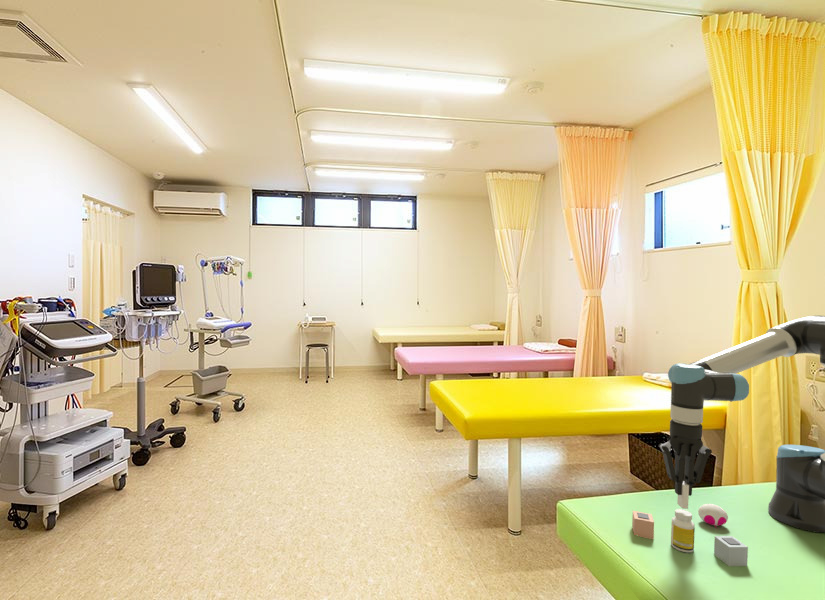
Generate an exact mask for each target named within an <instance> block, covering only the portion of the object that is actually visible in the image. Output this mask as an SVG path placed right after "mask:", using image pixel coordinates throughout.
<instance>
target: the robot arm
mask: <svg viewBox="0 0 825 600" xmlns="http://www.w3.org/2000/svg"><path fill="white" fill-rule="evenodd" d="M799 354H815V355H819V363H820V364H821V365H822V366H823V367H824V368H825V315H807V316H804V317H800V318H795V319H792V320H789V321H786V322H783V323H780V324H778V325H775V326H773V327H771V328H768V329H767V330H766V332H765V334H762V335H760V336H757V337H755V338H752V339H750V340H747V341H744V342H742V343H739V344H737V345H734V346H732V347H729V348H726V349H724V350H722V351H719V352H716V353H714V354H712V355H709V356H706V357H704V358H701V359H699V360H696V361H694V362H691V363H688V364H687V363H680V362H679V363H674V364H673V365H671V367H670V368H669V369H668V373H667V377H668V380H669V382H670V383H671V385H670V386H671V389H670V390H671V391H670V392H671V393H670V418H671V419H670V420H669V436H668V438H667V442H664V443H659V444H658V447H659V449H660V450H661V452H662V455H663V457H662V458H663V461H664V464H665V465H664V466H665V470H666V474H667V477H668V478H669V479H670V480H671V481H673V482H674V492H675V493H676V495H677V500H676V501H677V502H676V503H677V505H678V506H679V507H680V509H683V510H688V509H689V497H692V494H693V487H694V486H695V485H696V483H697V484H700V483H701V481H702V478H703V474H704V471H705V468H706V465H707V462H708V459H709V457H710V455H711V454H712V453H713V451H712V449H710V448H709V447H708V446H705V445H704V442H703V439H702V437H703V425H702V423H704V421H703V418H704V403H705V401H715V402H717V401H719V402H720V401H721V402H722V401H723V402H740V401H743V400H745V399H746V398H748V396H749V394H750V384H749V382H748V379H746V377H745V376H744V375H742V374H739V373H741V372H745V371H747V370H749V369H751V368H754V367H757V366H760V365H762V364H765V363H767V362H769V361H773V360H775V359H777V358H780V357H787V358H789V357H792V356H795V355H799ZM671 449H672V450H673V451H674V452H673V453H674V462H673V458H672V454H671ZM697 453H698V454H697ZM696 454H697V456H696ZM775 471H776V475H775V477H776V478H775V479H776V480H775V481H776V483H775V484H776V485H775V491H774V493H773V494H772V497H771V499H770V501H769V502H768V507H767V510H768V514H769V515H770V516H771V517H773V518H774V519H775V520H777V521H779V522H781V523H782V524H785V525H788V526H791V527H794V528H795V529H799V528H800V529H799V530H803V529H804V530H803V531H807V530H809V531H808V532H812V531H815V532H814V533H820V532H825V449H822V448H819V447H814V446H809V445H800V444H782V445H780V446H778V448H777V455H776V470H775Z"/></svg>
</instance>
